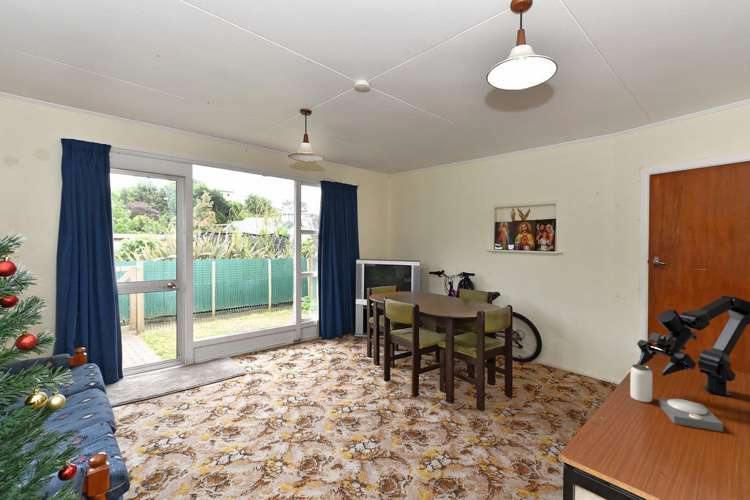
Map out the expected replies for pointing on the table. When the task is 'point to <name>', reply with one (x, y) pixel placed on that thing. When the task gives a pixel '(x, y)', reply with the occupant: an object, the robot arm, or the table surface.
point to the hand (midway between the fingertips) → (650, 370)
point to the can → (641, 383)
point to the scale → (690, 414)
